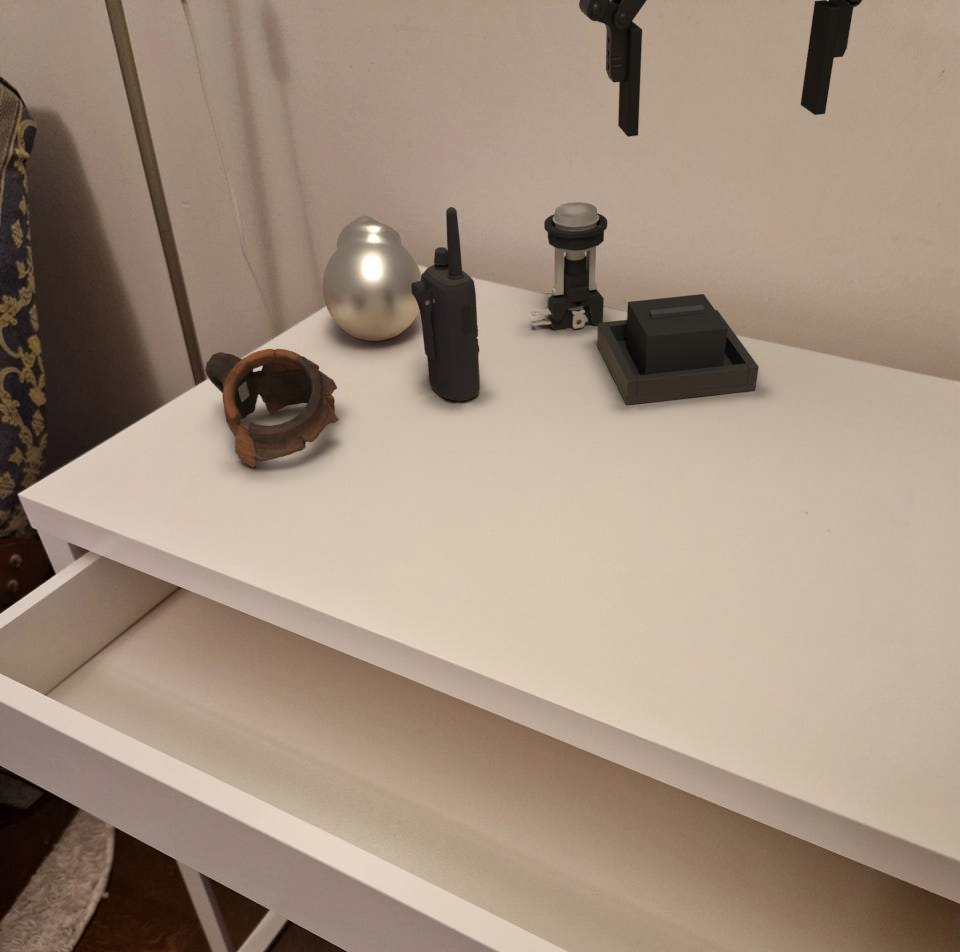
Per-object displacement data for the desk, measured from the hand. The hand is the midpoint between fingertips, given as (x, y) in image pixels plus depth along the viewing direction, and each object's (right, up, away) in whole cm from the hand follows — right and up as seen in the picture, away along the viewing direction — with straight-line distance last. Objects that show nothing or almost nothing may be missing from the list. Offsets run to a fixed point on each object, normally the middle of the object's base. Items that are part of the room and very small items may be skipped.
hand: (720, 120), depth 72 cm
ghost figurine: (-26, -9, +20) cm, 34 cm away
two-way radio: (-20, -17, +11) cm, 28 cm away
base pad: (-1, -14, +12) cm, 19 cm away
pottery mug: (-33, -21, +7) cm, 40 cm away
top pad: (-1, -14, +12) cm, 18 cm away
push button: (-9, -9, +19) cm, 23 cm away
